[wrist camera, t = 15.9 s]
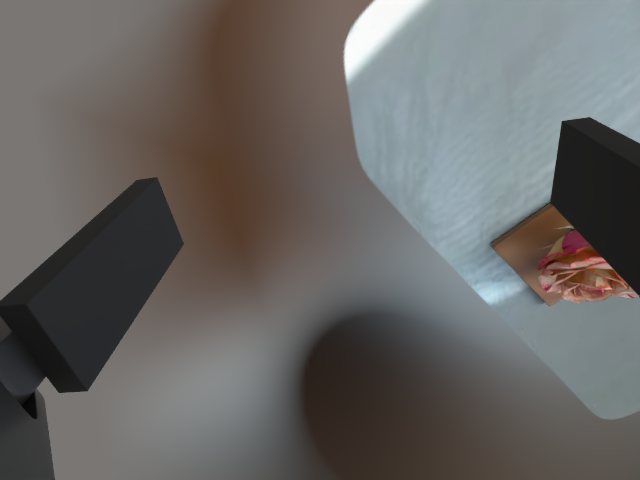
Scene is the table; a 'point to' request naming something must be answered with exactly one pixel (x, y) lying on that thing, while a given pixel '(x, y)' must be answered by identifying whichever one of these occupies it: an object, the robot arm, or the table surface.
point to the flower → (580, 271)
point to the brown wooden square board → (533, 247)
